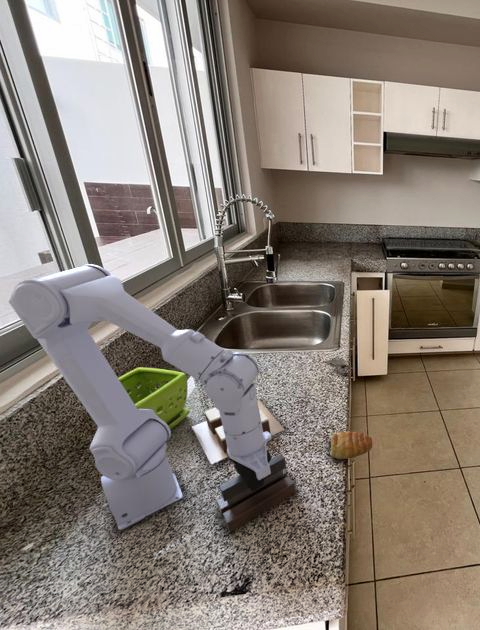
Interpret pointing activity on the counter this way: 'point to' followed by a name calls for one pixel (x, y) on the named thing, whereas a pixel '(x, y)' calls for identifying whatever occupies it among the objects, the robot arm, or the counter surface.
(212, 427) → the cake back
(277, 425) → the cake board
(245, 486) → the knife
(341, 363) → the meat cleaver
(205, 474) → the counter surface
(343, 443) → the pastry
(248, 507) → the stand
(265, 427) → the cake front
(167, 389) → the flower pot
